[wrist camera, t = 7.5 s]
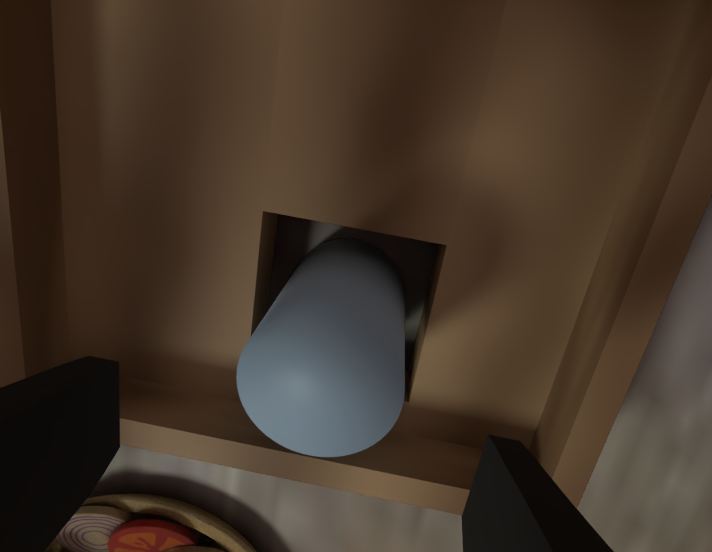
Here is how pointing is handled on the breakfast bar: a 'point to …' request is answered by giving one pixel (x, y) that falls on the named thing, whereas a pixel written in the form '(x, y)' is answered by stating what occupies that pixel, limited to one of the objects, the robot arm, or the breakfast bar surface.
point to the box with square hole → (354, 208)
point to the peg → (329, 353)
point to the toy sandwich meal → (145, 527)
